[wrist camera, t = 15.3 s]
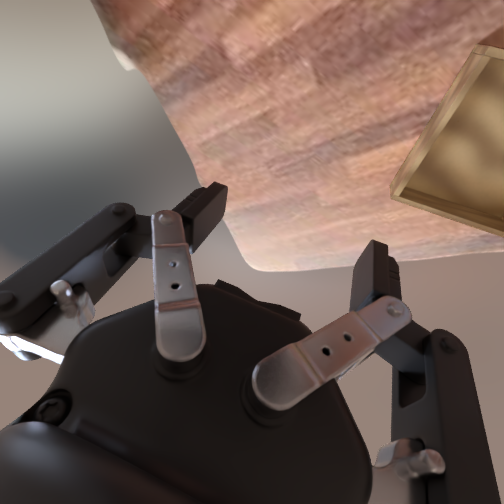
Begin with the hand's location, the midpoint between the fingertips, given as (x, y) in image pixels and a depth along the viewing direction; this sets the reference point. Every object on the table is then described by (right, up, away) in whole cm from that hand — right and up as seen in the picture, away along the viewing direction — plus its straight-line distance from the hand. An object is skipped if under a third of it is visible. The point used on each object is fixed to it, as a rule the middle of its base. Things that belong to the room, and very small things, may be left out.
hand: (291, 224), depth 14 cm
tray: (+26, +11, +17) cm, 33 cm away
